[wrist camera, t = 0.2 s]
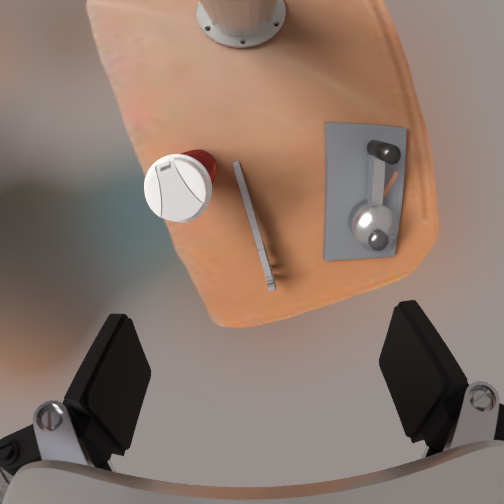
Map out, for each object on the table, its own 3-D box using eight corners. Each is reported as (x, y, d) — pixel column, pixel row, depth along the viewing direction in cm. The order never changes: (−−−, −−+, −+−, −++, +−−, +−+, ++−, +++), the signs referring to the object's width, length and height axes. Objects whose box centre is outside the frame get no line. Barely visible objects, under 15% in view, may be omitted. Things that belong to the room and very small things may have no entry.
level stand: (324, 122, 39) (327, 122, 37) (402, 127, 38) (406, 127, 37) (322, 256, 49) (324, 261, 47) (391, 252, 48) (394, 256, 47)
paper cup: (165, 152, 41) (130, 170, 28) (213, 135, 40) (196, 145, 27) (183, 199, 44) (156, 235, 32) (230, 184, 43) (220, 215, 31)
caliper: (275, 275, 50) (277, 296, 45) (268, 276, 51) (271, 298, 45) (238, 160, 42) (236, 167, 36) (231, 162, 42) (228, 170, 36)
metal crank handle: (351, 138, 38) (368, 143, 32) (393, 140, 38) (415, 146, 32) (347, 241, 45) (360, 261, 39) (385, 239, 45) (402, 258, 39)
